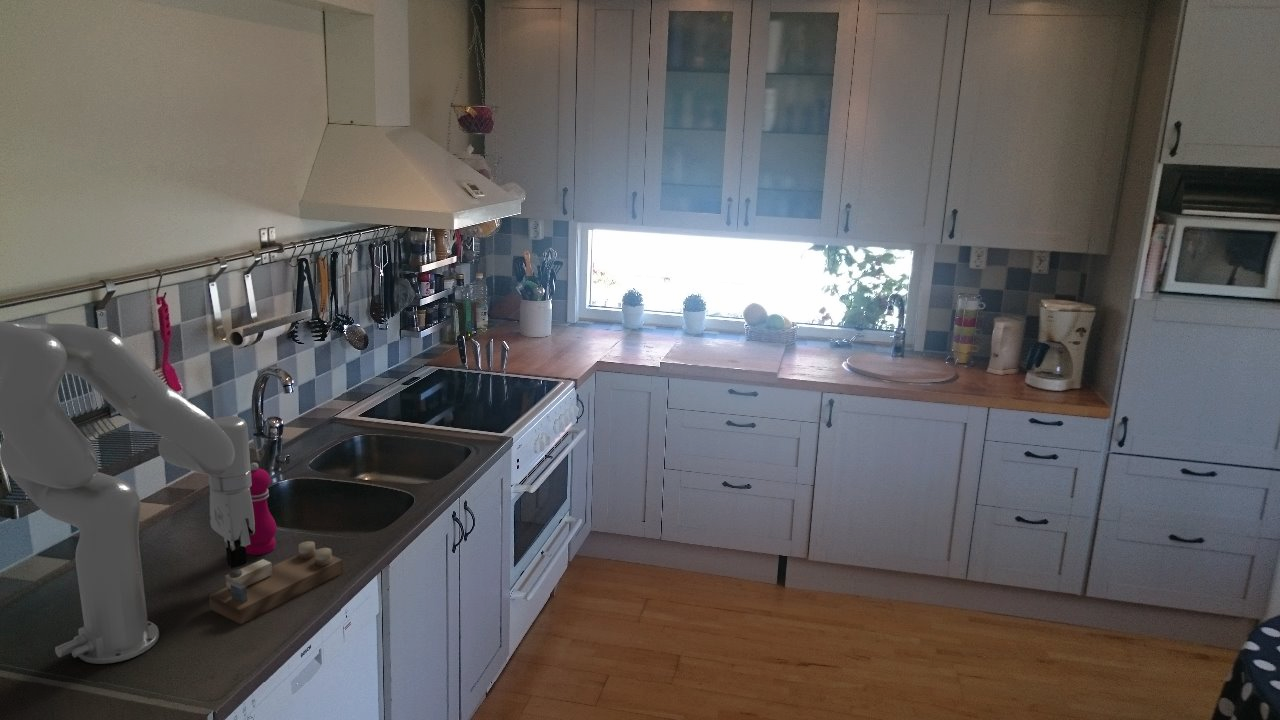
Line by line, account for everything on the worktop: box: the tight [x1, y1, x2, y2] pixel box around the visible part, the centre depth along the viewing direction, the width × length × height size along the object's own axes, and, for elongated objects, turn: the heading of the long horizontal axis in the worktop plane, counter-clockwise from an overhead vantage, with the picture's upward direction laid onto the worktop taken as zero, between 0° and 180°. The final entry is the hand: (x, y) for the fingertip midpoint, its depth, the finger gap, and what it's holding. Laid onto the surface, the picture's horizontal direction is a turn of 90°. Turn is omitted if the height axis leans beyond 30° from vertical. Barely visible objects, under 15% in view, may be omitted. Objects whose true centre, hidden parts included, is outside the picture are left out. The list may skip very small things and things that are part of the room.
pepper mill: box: [246, 462, 278, 556], centre depth 192 cm, size 7×7×20 cm
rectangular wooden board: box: [208, 540, 344, 625], centre depth 177 cm, size 24×9×6 cm, turn 149°
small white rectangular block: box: [225, 558, 273, 590], centre depth 174 cm, size 8×3×3 cm, turn 149°
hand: (237, 564), depth 179 cm, fingers closed
